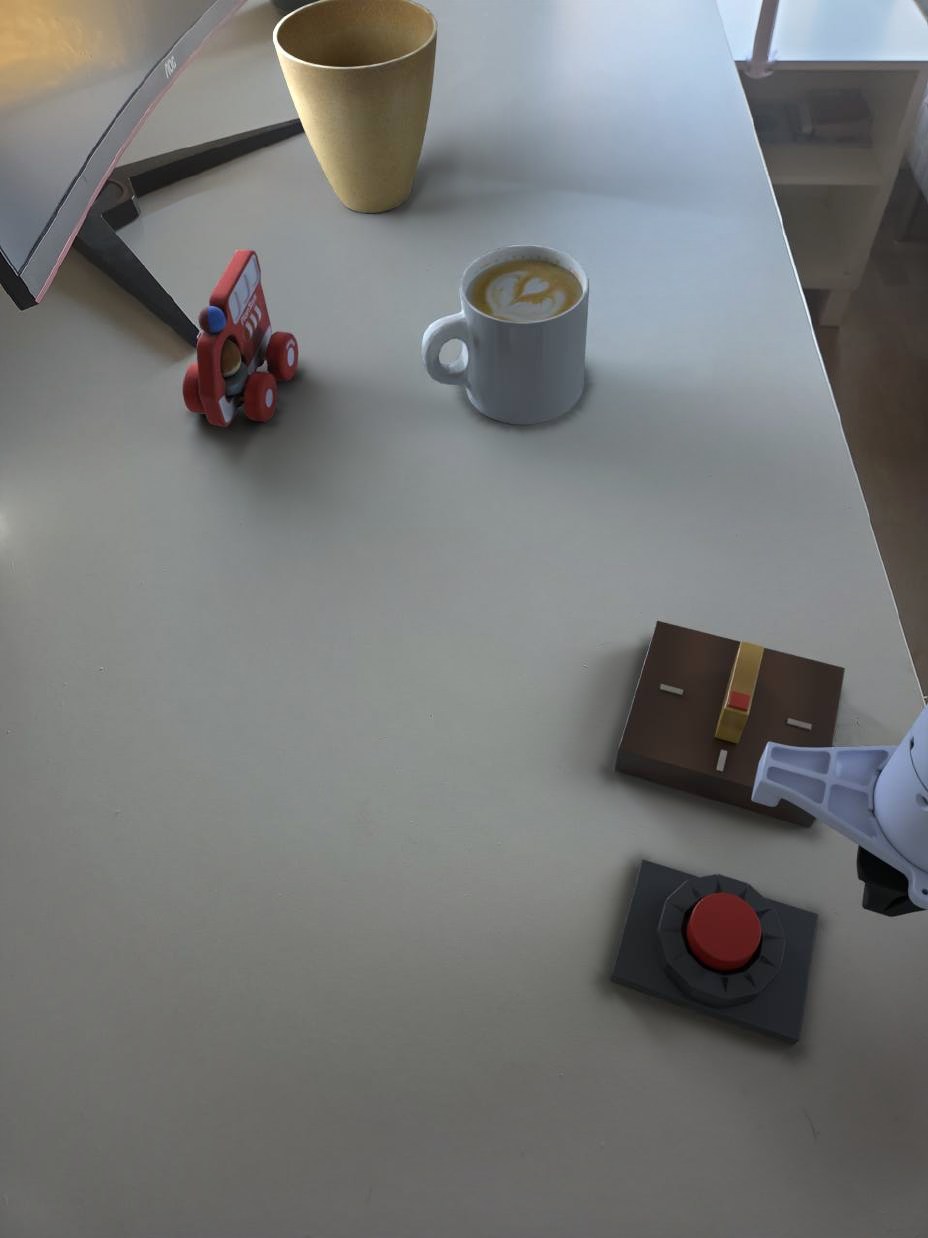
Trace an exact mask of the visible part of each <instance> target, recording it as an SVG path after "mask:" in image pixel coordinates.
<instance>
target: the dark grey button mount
mask: <svg viewBox="0 0 928 1238" xmlns="http://www.w3.org/2000/svg"><path fill="white" fill-rule="evenodd" d="M715 893H727V894H731V895H734V896H737V897H739V898H741V899H742V900H744V901H745V902H746V903H748V904H749V905H750V906H751V907H752V909H753V910H754V911H755V913H756V915H757V917H758V919H759V922H760V926H761V939H760V942H759V945H758V947H757V948H756V950H755V952H754V953H753V955H752V956H751V958H750V959H749V960H748V962H747V963H745V964H744V965H743V966H741V967H739V968H737V969H734V970H728V971H723V970H717V969H713V968H711V967H709V966H707V965H705V964H704V963H702V962H701V961H700V960H699V959H698V958H697V957H696V956H695V955H694V953H693V952H692V950H691V948H690V946H689V943H688V940H687V925H688V921H689V919H690V917H691V914H692V912H693V910H694V908H695V906H696V905H697V903H698V902H699V901H700V900H702V899H703V898H705V897H706V896H708V895H711V894H715ZM627 910H628V911H627V913H626V917H625V921H624V925H623V928H622V932H621V936H620V940H619V944H618V947H617V950H616V954H615V959H614V962H613V966H612V968H611V969H612V970H611V973H610V978H609V982H610V983H613V984H615V985H617V986H621V987H624V988H626V989H630V990H633V991H635V992H638V993H641V994H644V995H647V996H650V997H653V998H656V999H659V1000H662V1001H665V1002H667V1003H670V1004H673V1005H676V1006H679V1007H682V1008H684V1009H688V1010H691V1011H693V1012H697V1013H699V1014H701V1015H704V1016H707V1017H710V1018H714V1019H716V1020H719V1021H722V1022H725V1023H727V1024H730V1025H734V1026H737V1027H739V1028H742V1029H745V1030H748V1031H750V1032H754V1033H757V1034H759V1035H762V1036H765V1037H768V1038H771V1039H774V1040H777V1041H779V1042H782V1043H784V1044H785V1043H786V1044H788V1045H791V1046H796V1044H798V1042H799V1041H800V1040H801V1033H802V1027H803V1026H802V1025H803V1019H804V1015H805V1014H804V1013H805V1006H806V1001H807V994H808V988H809V982H810V981H809V980H810V973H811V967H812V962H813V953H814V948H815V940H816V935H817V929H818V922H819V921H818V920H819V914H818V913H815V912H812V911H809V910H805V909H803V908H799V907H797V906H793V905H790V904H786V903H783V902H780V901H778V900H774V899H771V898H768V897H765V896H763V895H762V894H761V893H760V892H759V891H758V890H757V889H756V888H755V887H753V886H752V885H751V883H748V882H746V881H742V880H739V879H735V878H732V877H729V876H726V875H723V874H720V873H718V874H717V873H714V874H710V875H704V876H697V875H695V874H691V873H689V872H685V871H681V870H678V869H675V868H672V867H669V866H666V865H662V864H659V863H657V862H653V861H650V860H646V859H643V858H642V859H641V861H640V864H639V868H638V872H637V876H636V880H635V883H634V886H633V891H632V894H631V899H630V902H629V905H628V909H627Z"/></svg>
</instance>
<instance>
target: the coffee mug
mask: <svg viewBox="0 0 928 1238" xmlns="http://www.w3.org/2000/svg"><path fill="white" fill-rule="evenodd" d="M459 299H460V305H461V311H460V312H457V313H454V314H450V315H446V316H444V317H441V318H439V319H437V320H434V322H432V323H431V324H430V325H429V326H428V327H427V328H426V330H425V332H424V334H423V336H422V340H421V347H420V349H421V357H422V361H423V364H424V368H425V370H426V372H427V373H428V375H429V377H431V379H433V380H434V381H435V382H437V383H439V384H441V385H442V384H443V385H448V386H449V385H450V386H451V385H453V386H463V387H465V389H466V394H467V398H468V399H469V401H470V403H471V404H472V405H473V407H475V409H477V411H479V412H480V413H481V414H483V415H484V416H486V417H488V418H490V419H492V420H494V421H498V422H501V423H503V424H509V425H510V424H511V425H518V426H519V425H520V426H526V425H528V426H529V425H538V424H542V423H546V422H550V421H552V420H555V419H557V418H559V417H561V416H563V415H564V414H566V413H567V412H569V411H570V410H571V409H573V407H575V405H576V404H577V403H578V401H579V400H580V398H581V397H582V394H583V390H584V381H585V380H584V379H585V365H586V347H587V332H588V317H589V316H588V315H589V303H590V302H589V299H590V279H589V274H588V272H587V270H586V268H585V267H584V266H583V264H582V263H581V262H580V261H579V260H578V259H577V258H575V257H573V255H571V254H568V253H567V252H565V251H562V250H560V249H557V248H554V247H551V246H550V247H549V246H545V245H539V244H515V245H514V244H513V245H509V246H504V247H499V248H497V249H494V250H491V251H488V252H486V253H484V254H483V255H481V256H479V257H477V258H475V260H474V261H472V262H471V263H470V264H469V265H468V266H467V267H466V268H465V270H464V272H463V274H462V275H461V278H460V281H459ZM456 339H457V340H459V341H461V342H462V347H461V352H460V353H459V355H458V357H457V358H456V359H455V360H454V361H453V362H450V363H443V362H441V360H440V353H441V349H442V347H444V345H445V344H446V343H448V342H450V341H451V340H456Z"/></svg>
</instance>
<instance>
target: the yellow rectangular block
mask: <svg viewBox="0 0 928 1238" xmlns="http://www.w3.org/2000/svg"><path fill="white" fill-rule="evenodd" d="M740 642H741V643H740V646H739V649H738V652H737V655H736V658H735V661H734V664H733V667H732V670H731V674H730V678H729V682H728V686H727V690H726V694H725V698H724V702H723V706H722V710H721V713H720V717H719V721H718V725H717V729H716V733H715V737H716V738H719V739H722V740H726V741H729V742H733V743H738V742H739V739H740V737H741V734H742V731H743V729H744V726H745V723H746V721H747V718H748V716H749V712H750V707H751V703H752V699H753V694H754V690H755V686H756V681H757V677H758V673H759V668H760V664H761V660H762V655H763V651H764V648H765V647H764V646H763V645H758V644H756V643H751V642H746V641H744V640H741V641H740Z"/></svg>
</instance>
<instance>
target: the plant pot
mask: <svg viewBox="0 0 928 1238" xmlns="http://www.w3.org/2000/svg"><path fill="white" fill-rule="evenodd" d="M438 27H439V26H438V20H437V18H436V17H435V14H433V13H432V11H431V10H429V9H428V8H427V7H425V6H424V5H422V4H421V3H418V2H416V1H413V0H318V1H314V2H311V3H309V4H306V5H304V6H301V7H299V8H297V9H295V10H294V11H292V12H290V13H289V14H287V15H286V16H284V17H283V18H282V19H280V21H279V22H278V23H277V25H276V26H275V28H274V30H273V35H272V39H273V40H272V41H273V44H274V47H275V51H276V54H277V57H278V60H279V64H280V68H281V70H282V73H283V76H284V79H285V82H286V85H287V88H288V90H289V93H290V97H291V99H292V102H293V104H294V107H295V110H296V112H297V115H298V117H299V120H300V123H301V125H302V127H303V130H304V132H305V135H306V137H307V139H308V141H309V144H310V146H311V148H312V150H313V152H314V155H315V157H316V159H317V161H318V163H319V165H320V167H321V169H322V170H323V173H324V174H325V177H326V178H327V180H328V182H329V184H330V185H331V188H332V189H333V191H334V193H335V195H336V196H337V198H338V200H339V201H340V202H341V204H342V205H343V206H344V207H346V208H347V209H350V210H351V211H353V212H357V213H365V214H377V213H382V212H383V213H384V212H387V211H390V210H393V209H395V208H397V207H400V206H401V205H402V204H403V203H405V201H406V200H407V199H408V197H409V196H410V193H411V190H412V186H413V183H414V179H415V176H416V173H417V170H418V165H419V161H420V157H421V153H422V150H423V146H424V140H425V136H426V131H427V125H428V120H429V115H430V114H429V113H430V107H431V101H432V94H433V86H434V85H433V84H434V78H435V77H434V76H435V74H434V73H435V66H436V65H435V64H436V55H437V40H438Z"/></svg>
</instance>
